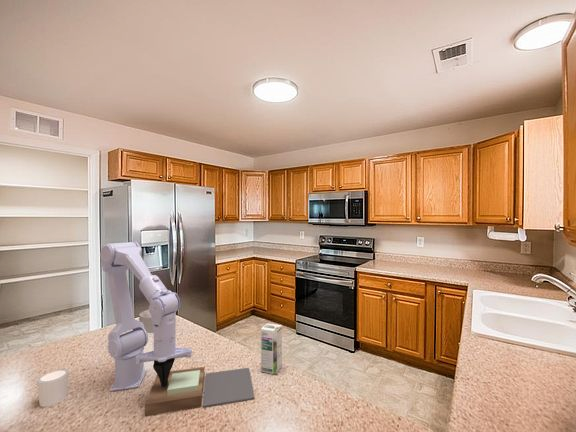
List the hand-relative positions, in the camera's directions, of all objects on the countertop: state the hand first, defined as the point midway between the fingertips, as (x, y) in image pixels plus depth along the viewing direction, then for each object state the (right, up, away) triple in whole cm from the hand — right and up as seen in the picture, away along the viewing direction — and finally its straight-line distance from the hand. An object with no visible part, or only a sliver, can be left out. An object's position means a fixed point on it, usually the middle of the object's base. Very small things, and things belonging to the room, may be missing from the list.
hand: (164, 384), depth 77 cm
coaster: (+5, -1, +1) cm, 5 cm away
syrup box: (+30, -4, +15) cm, 33 cm away
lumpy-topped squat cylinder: (-29, -5, +50) cm, 58 cm away
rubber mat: (+17, -4, +5) cm, 18 cm away
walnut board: (+3, -4, +2) cm, 5 cm away
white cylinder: (-31, -4, -1) cm, 32 cm away
